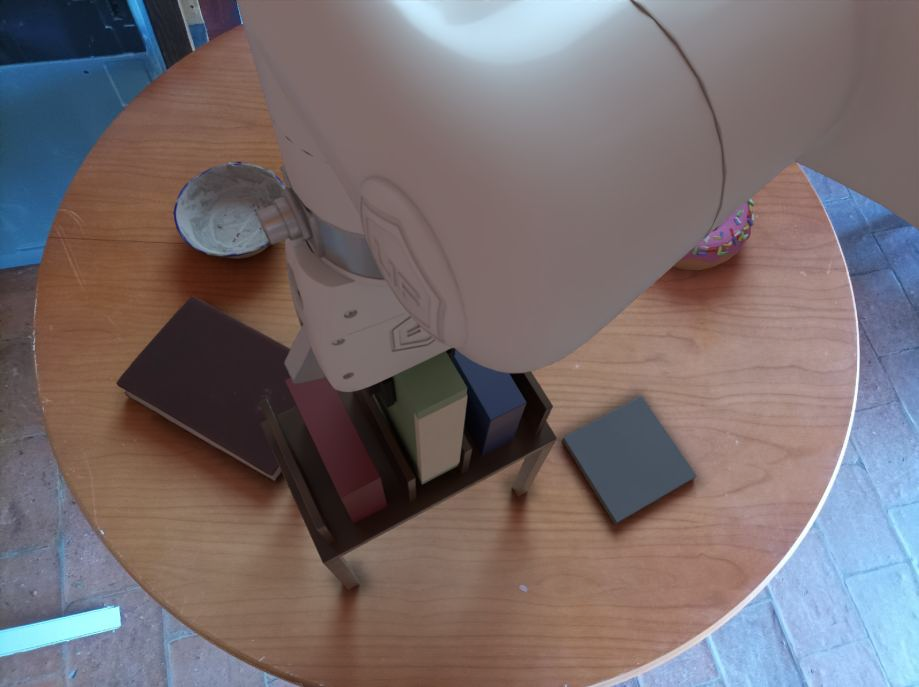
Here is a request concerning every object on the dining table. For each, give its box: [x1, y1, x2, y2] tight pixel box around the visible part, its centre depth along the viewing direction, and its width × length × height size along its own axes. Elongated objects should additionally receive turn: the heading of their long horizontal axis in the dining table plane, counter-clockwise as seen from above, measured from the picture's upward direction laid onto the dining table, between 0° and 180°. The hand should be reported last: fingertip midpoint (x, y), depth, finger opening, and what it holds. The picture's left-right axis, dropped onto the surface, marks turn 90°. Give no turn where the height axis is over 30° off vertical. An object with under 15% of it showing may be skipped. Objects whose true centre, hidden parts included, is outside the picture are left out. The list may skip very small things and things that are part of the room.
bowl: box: [172, 161, 286, 260], centre depth 81 cm, size 13×13×5 cm
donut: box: [672, 197, 755, 271], centre depth 84 cm, size 14×14×5 cm
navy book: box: [452, 349, 526, 456], centre depth 52 cm, size 9×3×8 cm, turn 28°
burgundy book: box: [285, 376, 387, 524], centre depth 50 cm, size 9×3×8 cm, turn 29°
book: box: [116, 295, 296, 484], centre depth 73 cm, size 12×19×3 cm, turn 61°
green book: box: [374, 351, 467, 484], centre depth 45 cm, size 9×3×15 cm, turn 29°
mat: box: [561, 395, 698, 525], centre depth 73 cm, size 10×10×1 cm
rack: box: [259, 371, 558, 591], centre depth 60 cm, size 12×20×24 cm, turn 119°
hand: (407, 371), depth 43 cm, fingers closed on green book, 3 cm apart
